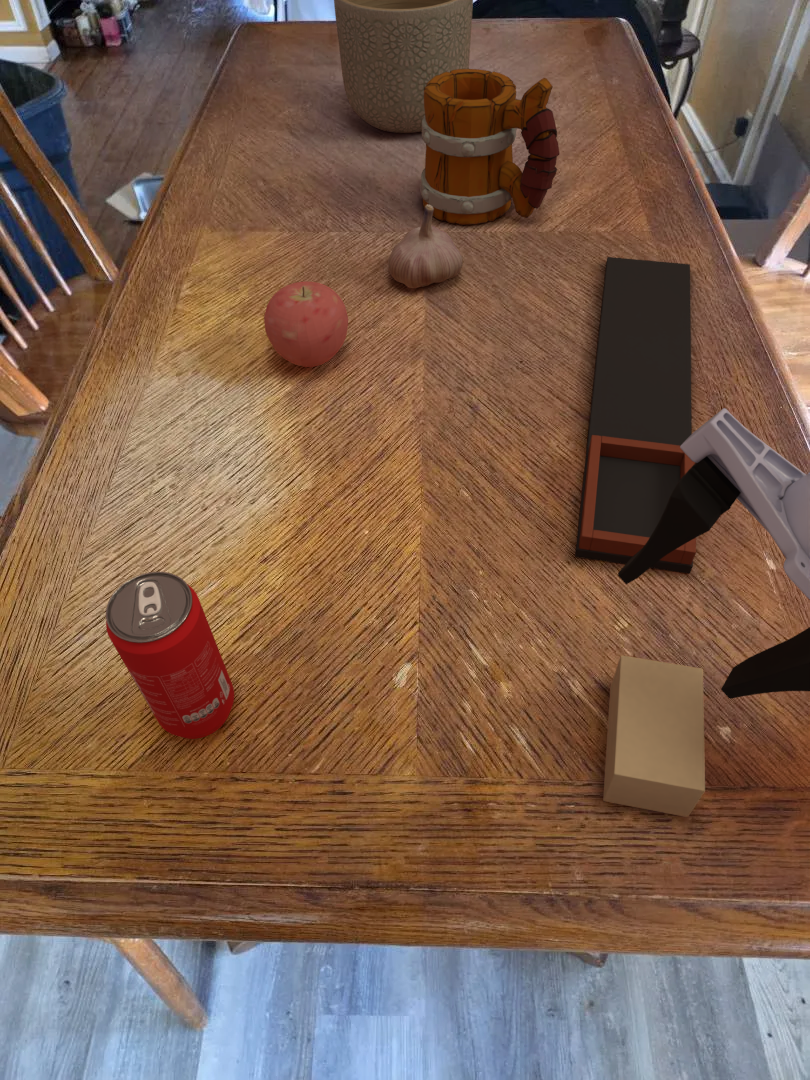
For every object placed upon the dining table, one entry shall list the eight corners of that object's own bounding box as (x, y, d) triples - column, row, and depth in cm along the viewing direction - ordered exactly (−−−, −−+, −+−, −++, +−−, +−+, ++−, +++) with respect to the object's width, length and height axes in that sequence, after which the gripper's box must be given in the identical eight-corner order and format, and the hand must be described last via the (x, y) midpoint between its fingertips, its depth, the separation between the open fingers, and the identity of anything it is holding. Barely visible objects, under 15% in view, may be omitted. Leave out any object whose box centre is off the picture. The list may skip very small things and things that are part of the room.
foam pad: (687, 699, 53) (703, 668, 50) (688, 817, 48) (705, 791, 45) (610, 686, 54) (620, 654, 51) (602, 801, 49) (614, 774, 46)
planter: (472, 91, 114) (476, -38, 102) (465, 147, 103) (469, 10, 91) (353, 90, 116) (344, -38, 104) (334, 145, 105) (322, 9, 93)
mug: (449, 171, 100) (451, 34, 88) (570, 207, 93) (589, 65, 82) (399, 209, 94) (395, 69, 82) (524, 250, 88) (538, 105, 76)
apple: (366, 359, 77) (360, 285, 71) (304, 394, 74) (292, 319, 68) (319, 324, 80) (309, 251, 74) (258, 356, 77) (242, 283, 71)
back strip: (687, 272, 84) (693, 250, 82) (689, 574, 60) (698, 553, 58) (605, 265, 86) (609, 243, 84) (574, 557, 61) (579, 536, 59)
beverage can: (162, 754, 52) (102, 655, 43) (156, 685, 55) (99, 579, 46) (242, 733, 53) (201, 632, 43) (231, 666, 56) (191, 558, 46)
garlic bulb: (472, 267, 86) (475, 195, 80) (444, 305, 82) (444, 231, 76) (408, 252, 88) (406, 180, 82) (377, 287, 84) (372, 214, 78)
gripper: (773, 376, 30) (549, 555, 40) (1059, 677, 29) (755, 785, 38) (818, 327, 35) (608, 497, 44) (1064, 583, 33) (793, 700, 43)
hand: (679, 626), depth 42 cm, fingers open, 7 cm apart
